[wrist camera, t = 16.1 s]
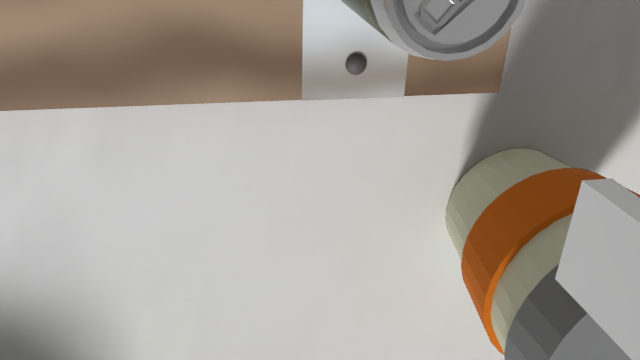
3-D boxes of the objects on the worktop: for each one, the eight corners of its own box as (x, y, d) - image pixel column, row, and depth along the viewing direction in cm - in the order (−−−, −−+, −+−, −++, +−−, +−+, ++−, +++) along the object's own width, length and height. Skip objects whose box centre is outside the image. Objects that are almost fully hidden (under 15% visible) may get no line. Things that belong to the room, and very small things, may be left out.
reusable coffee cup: (389, 252, 40) (482, 433, 27) (482, 95, 35) (649, 221, 22) (523, 293, 44) (659, 465, 31) (621, 158, 40) (827, 293, 27)
